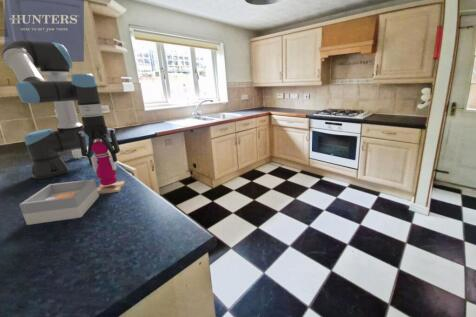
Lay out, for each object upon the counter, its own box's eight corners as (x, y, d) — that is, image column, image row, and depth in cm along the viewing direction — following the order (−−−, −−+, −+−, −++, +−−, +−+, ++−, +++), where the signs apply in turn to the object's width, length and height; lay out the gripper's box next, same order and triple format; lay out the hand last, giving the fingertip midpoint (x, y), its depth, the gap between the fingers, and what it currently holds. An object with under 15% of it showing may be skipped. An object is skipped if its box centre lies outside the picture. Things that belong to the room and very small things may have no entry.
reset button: (62, 205, 83) (58, 194, 82) (79, 203, 84) (76, 192, 83) (52, 213, 78) (49, 202, 76) (71, 211, 79) (68, 199, 77)
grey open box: (55, 201, 87) (49, 184, 85) (99, 196, 90) (94, 179, 88) (27, 224, 72) (19, 204, 70) (81, 217, 75) (75, 197, 73)
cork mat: (102, 185, 101) (101, 183, 100) (125, 182, 102) (125, 180, 102) (93, 194, 91) (92, 192, 91) (119, 191, 93) (118, 189, 93)
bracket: (86, 158, 146) (81, 140, 142) (71, 159, 146) (66, 141, 142) (106, 148, 170) (102, 132, 166) (93, 149, 169) (89, 133, 166)
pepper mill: (112, 178, 101) (101, 135, 95) (121, 180, 97) (111, 136, 91) (96, 184, 95) (83, 139, 89) (105, 187, 91) (93, 140, 85)
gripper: (59, 118, 82) (76, 176, 89) (115, 114, 85) (127, 170, 93) (69, 116, 89) (84, 169, 96) (121, 112, 92) (132, 164, 100)
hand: (105, 169), depth 94 cm, fingers closed on pepper mill, 6 cm apart
